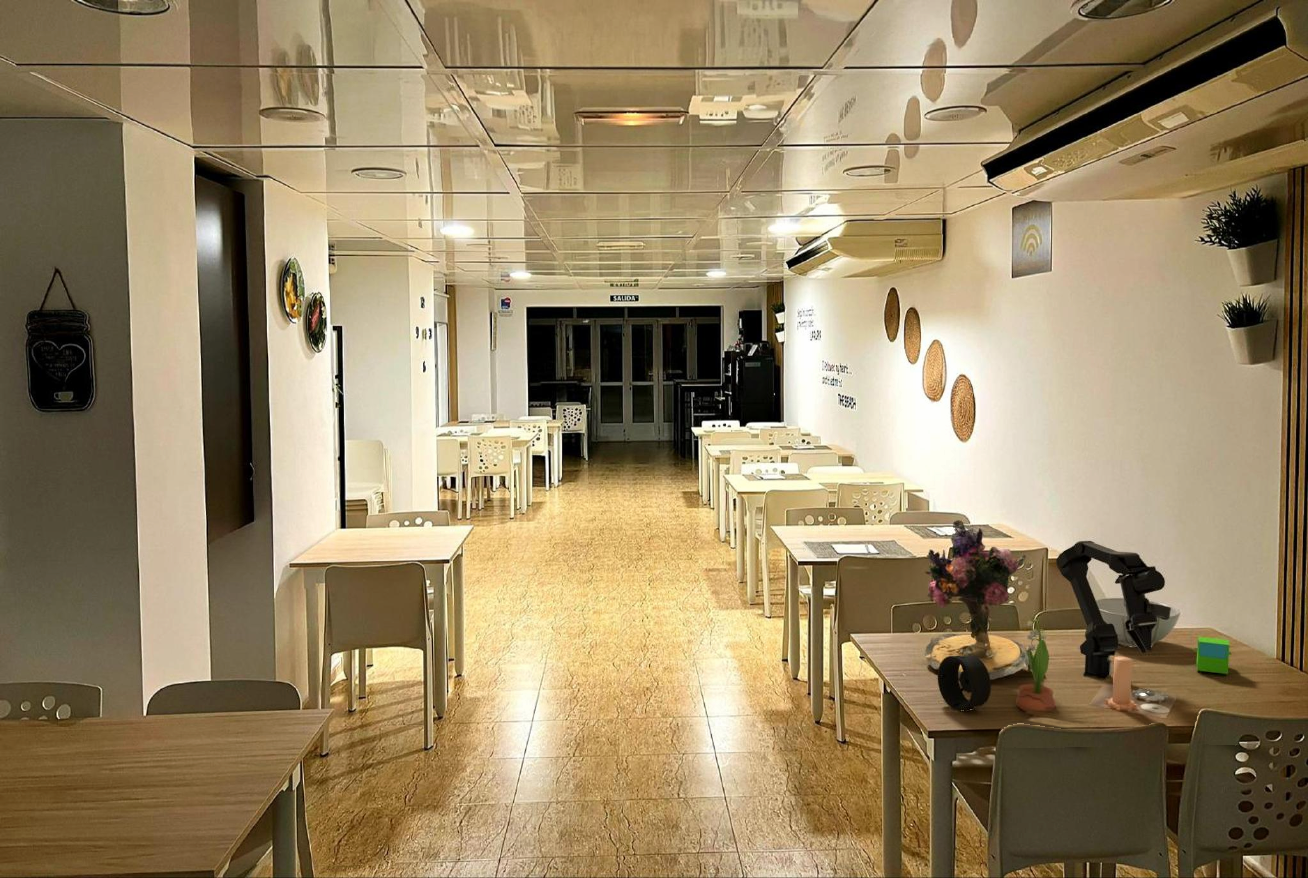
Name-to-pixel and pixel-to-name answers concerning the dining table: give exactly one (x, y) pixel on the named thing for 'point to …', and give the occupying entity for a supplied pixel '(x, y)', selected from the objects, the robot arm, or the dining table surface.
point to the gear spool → (1122, 685)
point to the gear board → (1142, 706)
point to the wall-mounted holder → (964, 682)
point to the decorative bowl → (1117, 616)
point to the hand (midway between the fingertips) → (1146, 652)
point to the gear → (1150, 696)
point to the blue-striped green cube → (1212, 655)
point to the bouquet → (974, 602)
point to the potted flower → (1036, 676)
